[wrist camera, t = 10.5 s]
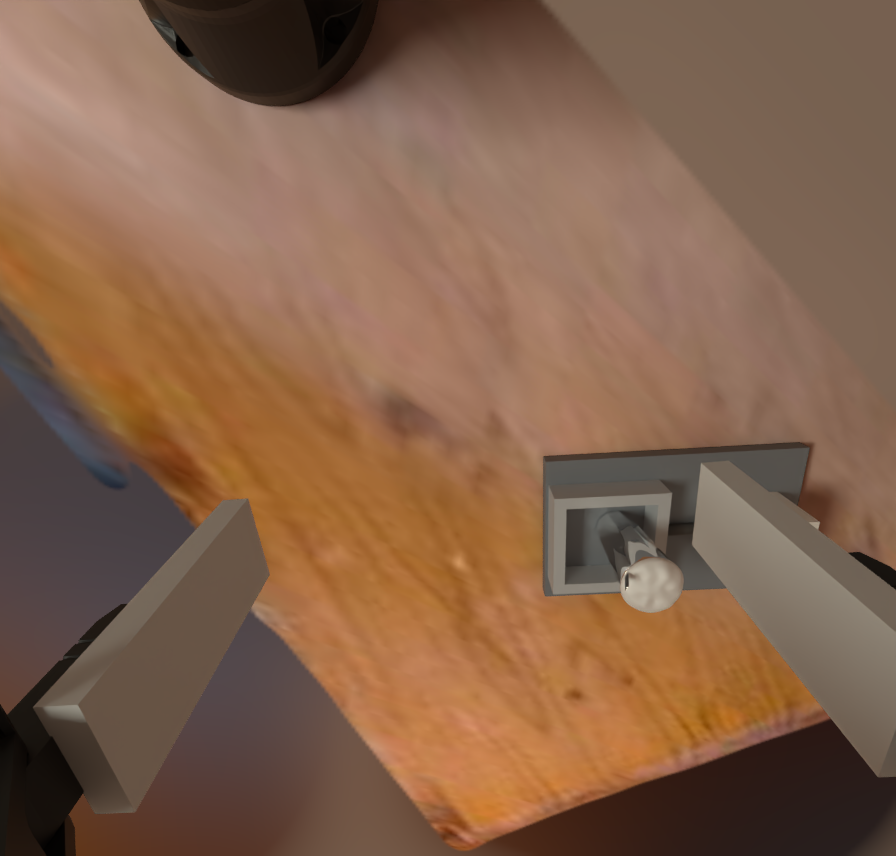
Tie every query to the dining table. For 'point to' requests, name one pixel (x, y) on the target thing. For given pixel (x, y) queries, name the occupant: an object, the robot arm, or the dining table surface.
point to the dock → (646, 507)
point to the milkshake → (639, 564)
